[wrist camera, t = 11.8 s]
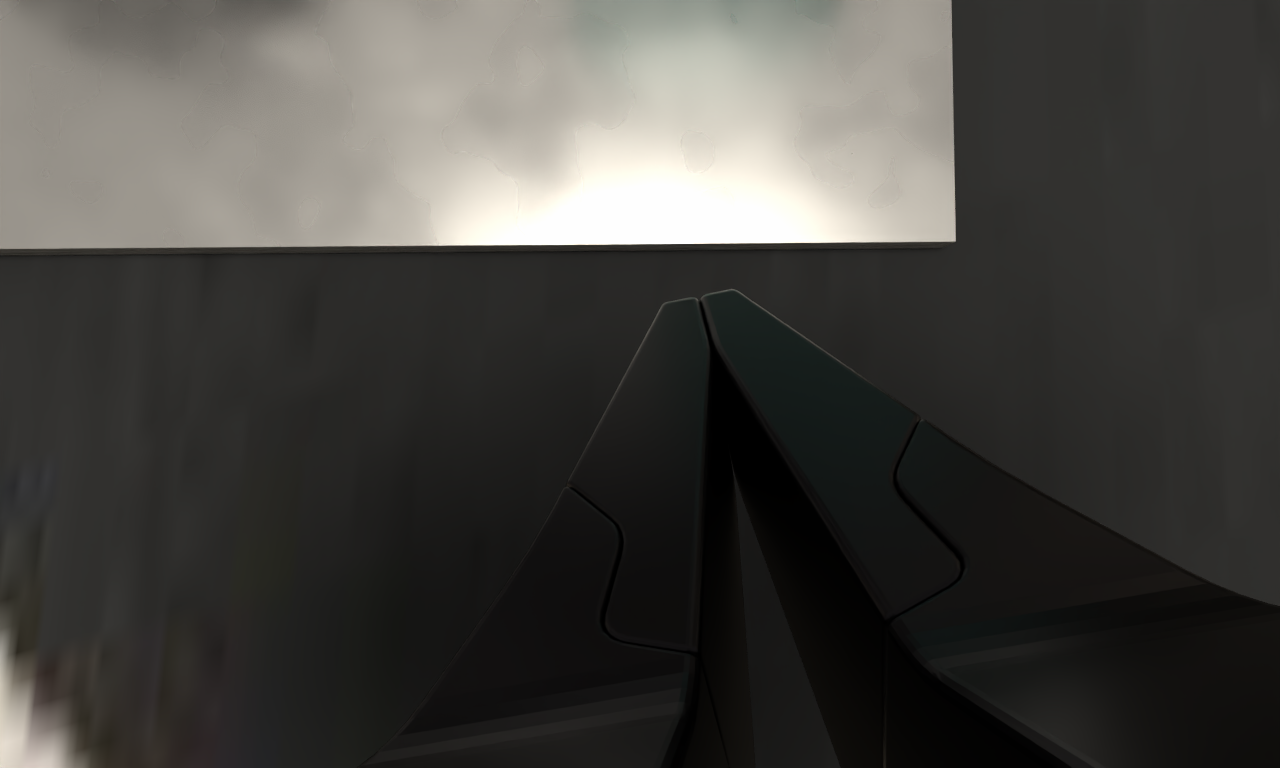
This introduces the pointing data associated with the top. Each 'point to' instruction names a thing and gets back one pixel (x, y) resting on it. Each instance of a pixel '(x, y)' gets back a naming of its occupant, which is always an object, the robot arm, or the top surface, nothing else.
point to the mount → (474, 125)
